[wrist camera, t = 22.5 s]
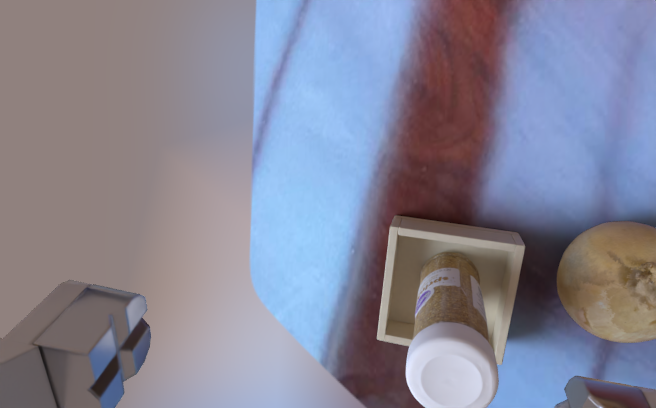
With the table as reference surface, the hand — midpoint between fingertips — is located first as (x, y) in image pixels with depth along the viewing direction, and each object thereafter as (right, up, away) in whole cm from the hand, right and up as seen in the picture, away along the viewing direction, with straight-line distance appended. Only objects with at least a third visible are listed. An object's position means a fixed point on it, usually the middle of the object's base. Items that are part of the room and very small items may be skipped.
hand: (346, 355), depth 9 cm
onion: (+20, -2, +25) cm, 32 cm away
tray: (+9, -3, +28) cm, 29 cm away
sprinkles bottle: (+9, -3, +27) cm, 28 cm away
